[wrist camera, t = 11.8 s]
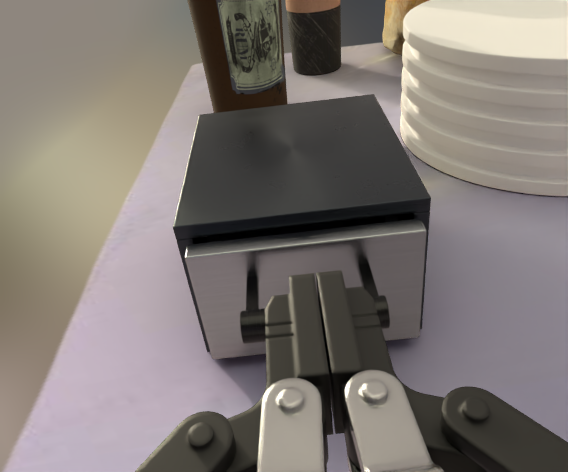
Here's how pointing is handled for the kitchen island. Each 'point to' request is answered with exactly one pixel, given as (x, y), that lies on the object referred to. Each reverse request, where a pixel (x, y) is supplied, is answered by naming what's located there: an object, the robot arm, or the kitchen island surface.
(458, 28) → the plate stack
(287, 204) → the cabinet
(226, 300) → the drawer
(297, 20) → the travel mug
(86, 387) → the kitchen island surface
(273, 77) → the olive oil
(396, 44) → the crumpled paper bag
